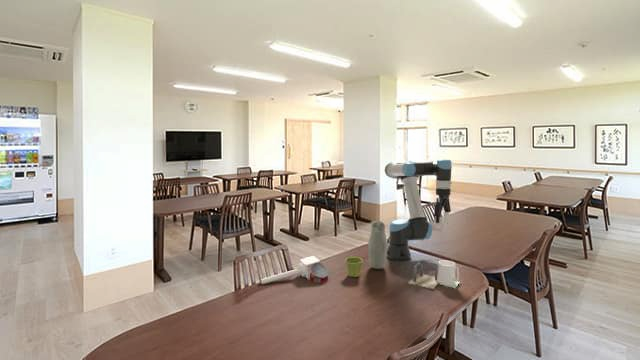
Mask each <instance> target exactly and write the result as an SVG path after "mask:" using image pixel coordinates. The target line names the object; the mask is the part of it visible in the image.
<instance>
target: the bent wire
mask: <svg viewBox="0 0 640 360" xmlns="http://www.w3.org/2000/svg"><path fill="white" fill-rule="evenodd" d="M424 264H427V265H432V266H434V277H435V280H438V263H435V262H430V261H426V260H420V261H419V262H417V263H416V264H415V265H413V277H414V278H413V277H412V278H413V281H414V282H416V275H417V268H418V266H419V273H420V276H423V274H424V273H423V272H424Z"/></svg>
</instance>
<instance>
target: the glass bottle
mask: <svg viewBox="0 0 640 360" xmlns="http://www.w3.org/2000/svg"><path fill="white" fill-rule="evenodd" d="M387 250H388V241H387V235H386V227H385V223H384V222H382V221H380V220H375V221H373V222H372V224H371V230H370V235H369V238H368V263H369V266H370V267H371V268H372V269H375V270H382V269H383V268H384V267H385V266H386V263H387Z"/></svg>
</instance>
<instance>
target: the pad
mask: <svg viewBox="0 0 640 360" xmlns="http://www.w3.org/2000/svg"><path fill="white" fill-rule="evenodd" d="M459 283H460V284H461V282H460V281H459V280H458V281H457V282H455V284H453V285H445V286H450V287H453V288H456V287H457V286H458V284H459ZM439 284H441V283H439ZM460 284H459V285H460ZM441 285H444V284H441ZM458 287H459V286H458ZM458 287H457V288H458ZM457 288H456V289H457Z"/></svg>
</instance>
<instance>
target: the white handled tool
mask: <svg viewBox="0 0 640 360" xmlns="http://www.w3.org/2000/svg"><path fill="white" fill-rule="evenodd" d="M318 262H320V263H321V261H320V259H318V258H317V257H316V256H315V255H311V256H308V257H303V258H300V259H299V263H298V268H295V269H292V270H289V271H285V272H280V273H278V274H273V275H270V276H266V277H264V278H261V279H260V282H261V284H262V285H265V284H270V283H272V282H276V281H279V280H283V279H287V278H289V277H293V276H296V275H301V277H302V278H305V279H306V278H307V279H306V280H310V273H309V266H310V265H311V266H312V265H313V264H314V263H318Z"/></svg>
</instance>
